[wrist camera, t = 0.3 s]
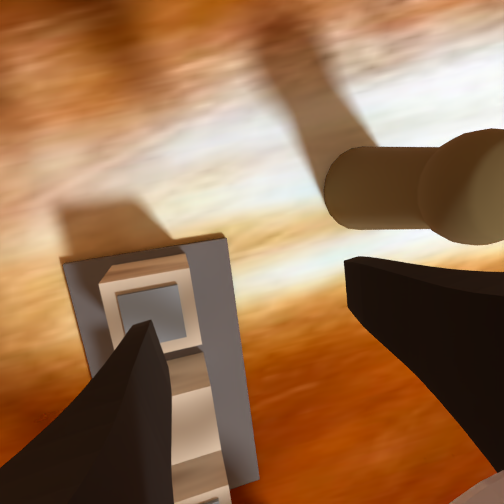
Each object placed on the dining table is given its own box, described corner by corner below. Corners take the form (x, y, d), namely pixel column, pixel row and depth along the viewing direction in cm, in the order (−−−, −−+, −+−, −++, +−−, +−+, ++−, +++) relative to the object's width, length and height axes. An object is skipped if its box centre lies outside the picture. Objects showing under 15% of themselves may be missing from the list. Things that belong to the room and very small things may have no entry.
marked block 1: (195, 316, 21) (202, 346, 17) (126, 331, 20) (116, 366, 16) (185, 253, 20) (189, 268, 16) (112, 265, 19) (97, 284, 15)
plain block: (212, 406, 23) (221, 449, 19) (149, 424, 22) (145, 473, 18) (203, 352, 22) (210, 385, 18) (136, 368, 21) (129, 407, 17)
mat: (258, 475, 26) (259, 479, 25) (131, 518, 23) (130, 523, 23) (225, 237, 21) (226, 238, 21) (64, 263, 19) (62, 264, 19)
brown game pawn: (313, 217, 23) (437, 241, 12) (339, 134, 22) (494, 84, 12) (380, 238, 24) (538, 274, 14) (406, 162, 24) (592, 140, 13)
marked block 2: (226, 484, 25) (238, 541, 21) (168, 504, 24) (168, 568, 20) (218, 437, 24) (229, 487, 20) (157, 455, 23) (155, 512, 19)
